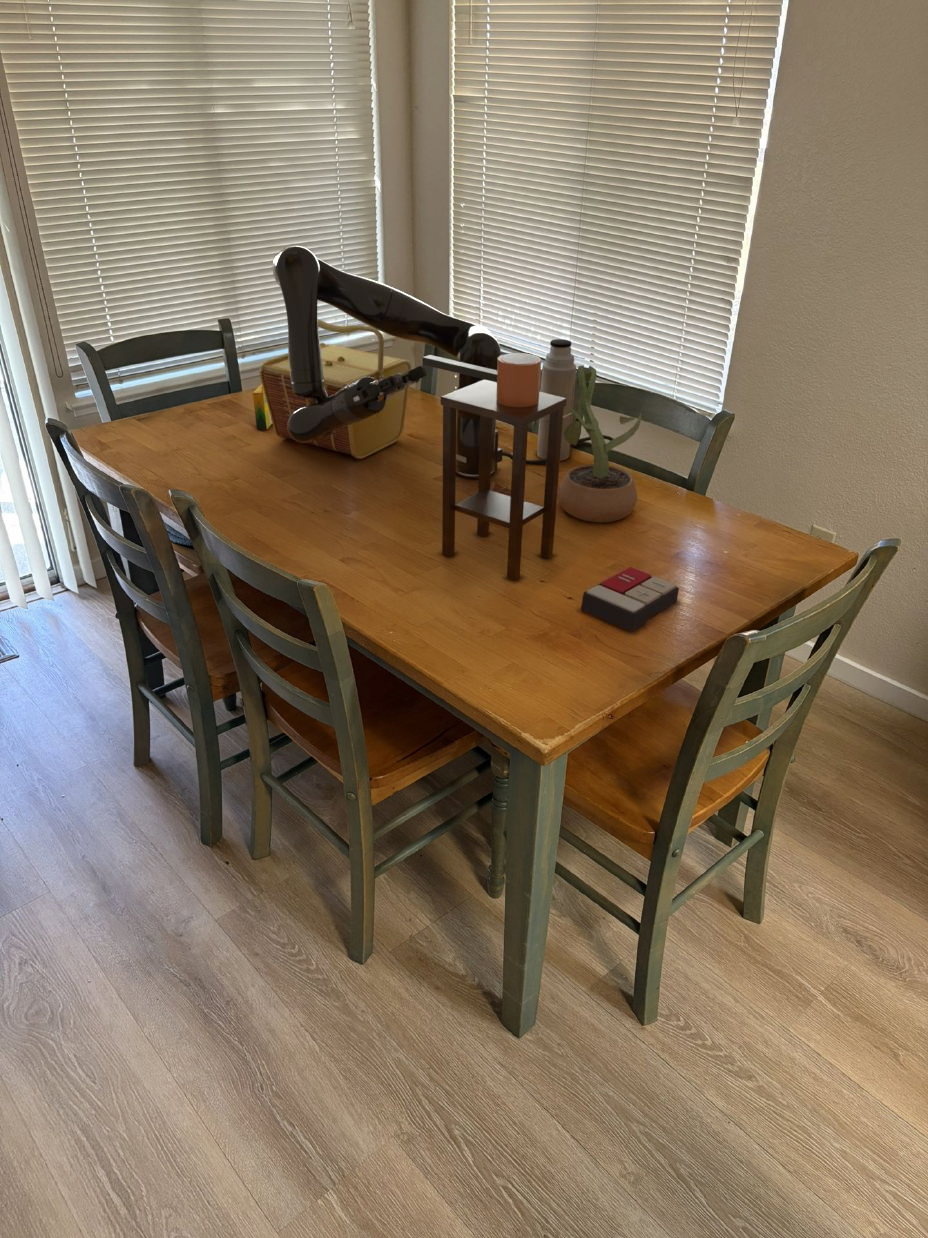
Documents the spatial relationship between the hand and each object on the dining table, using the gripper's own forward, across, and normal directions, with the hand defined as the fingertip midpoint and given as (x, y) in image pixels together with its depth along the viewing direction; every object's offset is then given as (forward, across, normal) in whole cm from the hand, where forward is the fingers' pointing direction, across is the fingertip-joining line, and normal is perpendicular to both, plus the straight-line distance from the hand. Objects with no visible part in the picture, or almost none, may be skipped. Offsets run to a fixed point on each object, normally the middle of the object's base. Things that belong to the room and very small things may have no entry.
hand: (410, 375), depth 179 cm
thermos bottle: (-15, +52, +28) cm, 61 cm away
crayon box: (-75, +22, -7) cm, 79 cm away
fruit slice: (-7, +19, +33) cm, 39 cm away
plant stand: (+3, 0, +38) cm, 39 cm away
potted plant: (+4, +32, +40) cm, 51 cm away
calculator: (+29, -1, +54) cm, 61 cm away
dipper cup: (+14, 0, +8) cm, 16 cm away
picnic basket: (-56, +26, +5) cm, 61 cm away
